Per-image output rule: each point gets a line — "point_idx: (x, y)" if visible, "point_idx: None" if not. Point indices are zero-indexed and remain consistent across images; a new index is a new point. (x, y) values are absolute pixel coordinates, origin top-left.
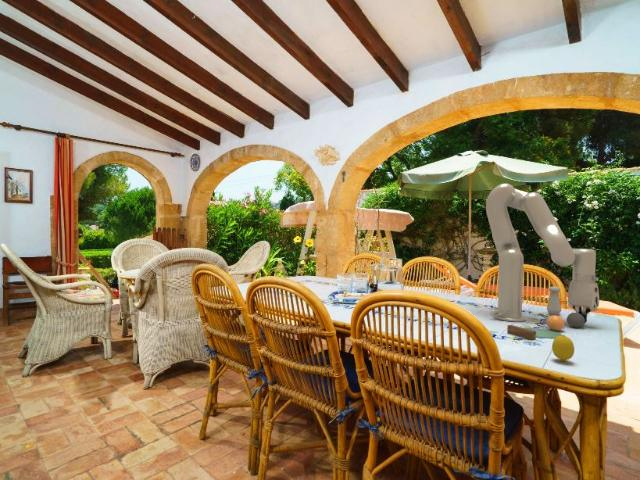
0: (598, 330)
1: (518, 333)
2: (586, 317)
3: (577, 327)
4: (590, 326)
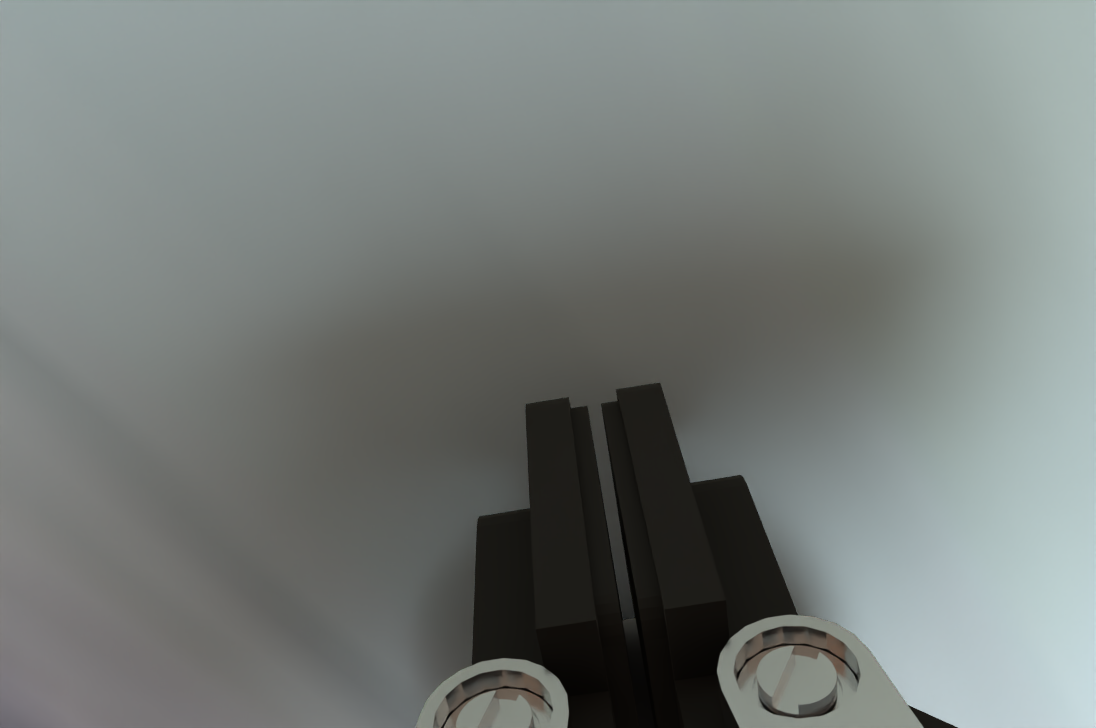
0: (1083, 417)
1: None
2: (778, 585)
3: None
4: (709, 197)
